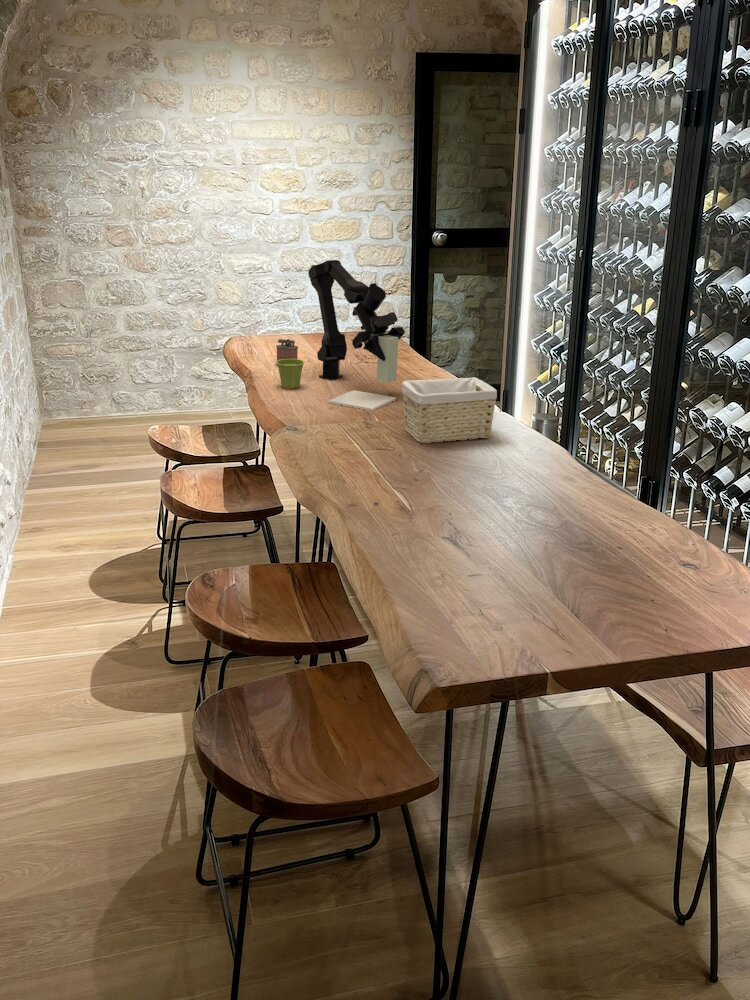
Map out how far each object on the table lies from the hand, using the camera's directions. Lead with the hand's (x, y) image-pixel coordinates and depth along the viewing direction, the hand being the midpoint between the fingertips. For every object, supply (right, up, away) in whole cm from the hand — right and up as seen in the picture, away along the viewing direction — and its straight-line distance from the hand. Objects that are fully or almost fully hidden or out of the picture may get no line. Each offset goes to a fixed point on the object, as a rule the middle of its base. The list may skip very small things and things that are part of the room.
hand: (390, 359), depth 278 cm
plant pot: (-34, -7, +16) cm, 38 cm away
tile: (-9, -13, +2) cm, 16 cm away
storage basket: (+16, -26, -27) cm, 41 cm away
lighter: (-38, +5, +45) cm, 58 cm away
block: (-1, -6, +4) cm, 7 cm away
